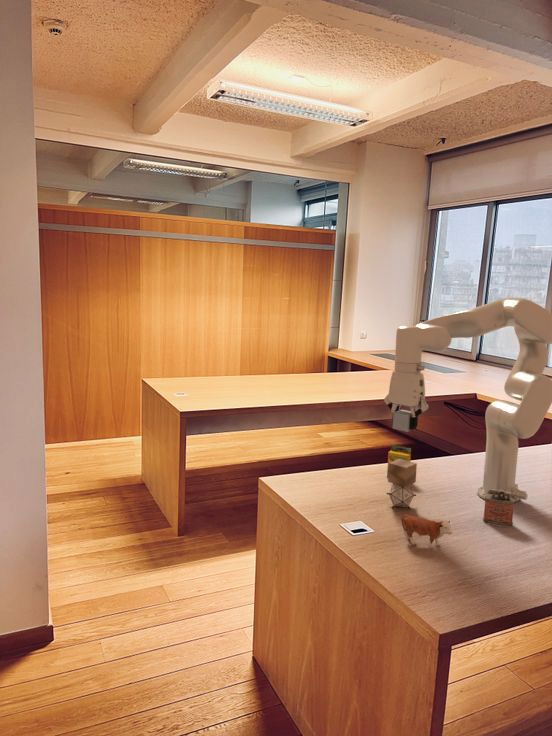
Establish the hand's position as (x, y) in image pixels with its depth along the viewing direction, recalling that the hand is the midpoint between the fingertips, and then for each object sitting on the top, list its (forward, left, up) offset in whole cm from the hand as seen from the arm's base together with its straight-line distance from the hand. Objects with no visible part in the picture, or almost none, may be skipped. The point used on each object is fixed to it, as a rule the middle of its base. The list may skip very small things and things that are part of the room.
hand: (404, 426), depth 165 cm
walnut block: (0, 0, -17) cm, 17 cm away
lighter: (-26, -10, -26) cm, 38 cm away
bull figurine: (-18, +17, -26) cm, 36 cm away
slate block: (0, 0, -1) cm, 1 cm away
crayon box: (+13, -20, -26) cm, 35 cm away
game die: (0, 0, -26) cm, 26 cm away
